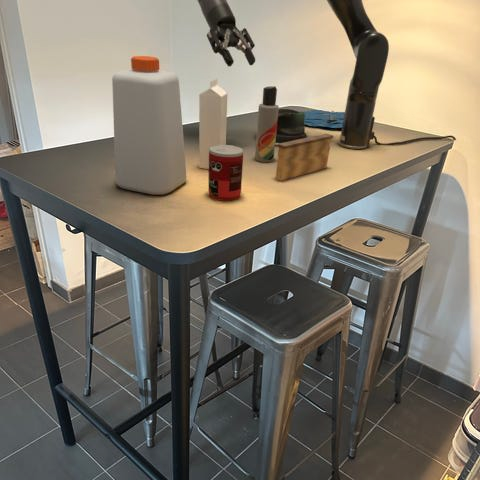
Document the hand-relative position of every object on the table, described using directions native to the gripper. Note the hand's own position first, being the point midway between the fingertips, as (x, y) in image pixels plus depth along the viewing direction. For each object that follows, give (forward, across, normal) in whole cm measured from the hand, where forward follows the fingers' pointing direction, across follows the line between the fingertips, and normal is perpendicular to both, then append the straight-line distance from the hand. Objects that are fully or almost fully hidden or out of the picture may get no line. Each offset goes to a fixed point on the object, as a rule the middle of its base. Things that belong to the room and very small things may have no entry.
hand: (242, 63), depth 131 cm
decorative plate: (+10, +58, +24) cm, 64 cm away
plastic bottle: (+25, -40, +10) cm, 48 cm away
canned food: (+36, -30, -2) cm, 47 cm away
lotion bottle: (+25, 0, +9) cm, 27 cm away
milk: (+23, -17, +12) cm, 31 cm away
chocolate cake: (+16, +23, +18) cm, 33 cm away
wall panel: (+36, 0, -2) cm, 36 cm away
